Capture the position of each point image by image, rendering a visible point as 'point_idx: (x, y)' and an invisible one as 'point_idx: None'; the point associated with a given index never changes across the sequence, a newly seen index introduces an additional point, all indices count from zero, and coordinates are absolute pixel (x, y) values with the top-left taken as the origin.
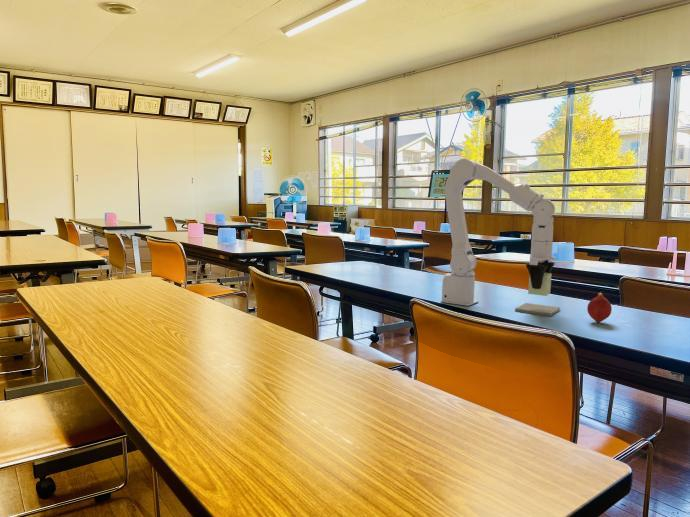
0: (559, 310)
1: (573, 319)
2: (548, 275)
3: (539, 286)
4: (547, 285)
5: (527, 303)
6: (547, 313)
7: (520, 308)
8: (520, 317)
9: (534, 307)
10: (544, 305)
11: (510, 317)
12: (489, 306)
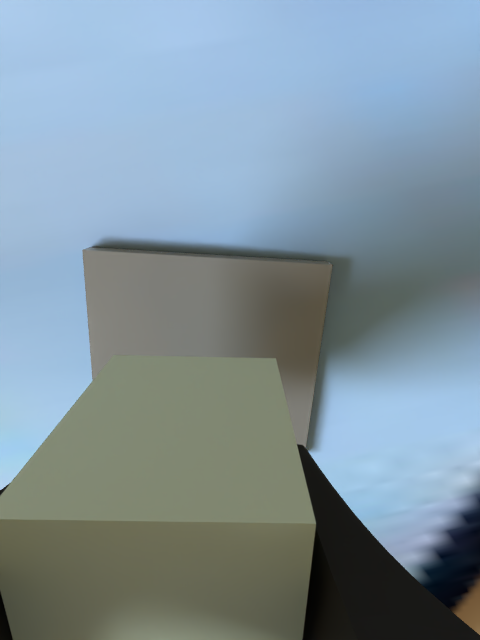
0: (102, 248)
1: (338, 103)
2: (237, 510)
3: (315, 465)
4: (250, 409)
5: None
6: (328, 286)
7: None
8: (444, 396)
9: None
10: (92, 353)
11: (468, 435)
12: None
